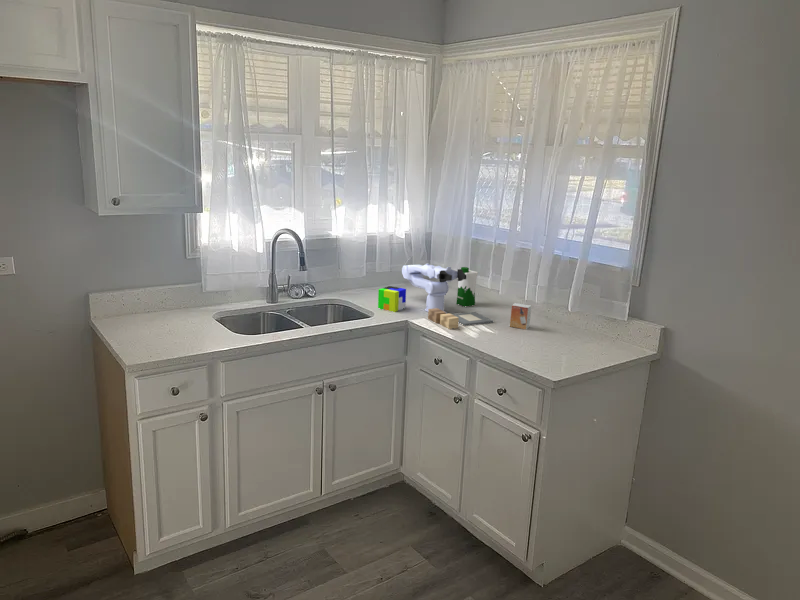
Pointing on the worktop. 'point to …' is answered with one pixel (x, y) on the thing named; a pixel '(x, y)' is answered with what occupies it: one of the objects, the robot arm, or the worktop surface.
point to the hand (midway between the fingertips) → (458, 277)
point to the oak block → (449, 321)
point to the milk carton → (467, 288)
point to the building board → (472, 318)
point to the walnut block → (435, 314)
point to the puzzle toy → (392, 298)
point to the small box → (520, 316)
